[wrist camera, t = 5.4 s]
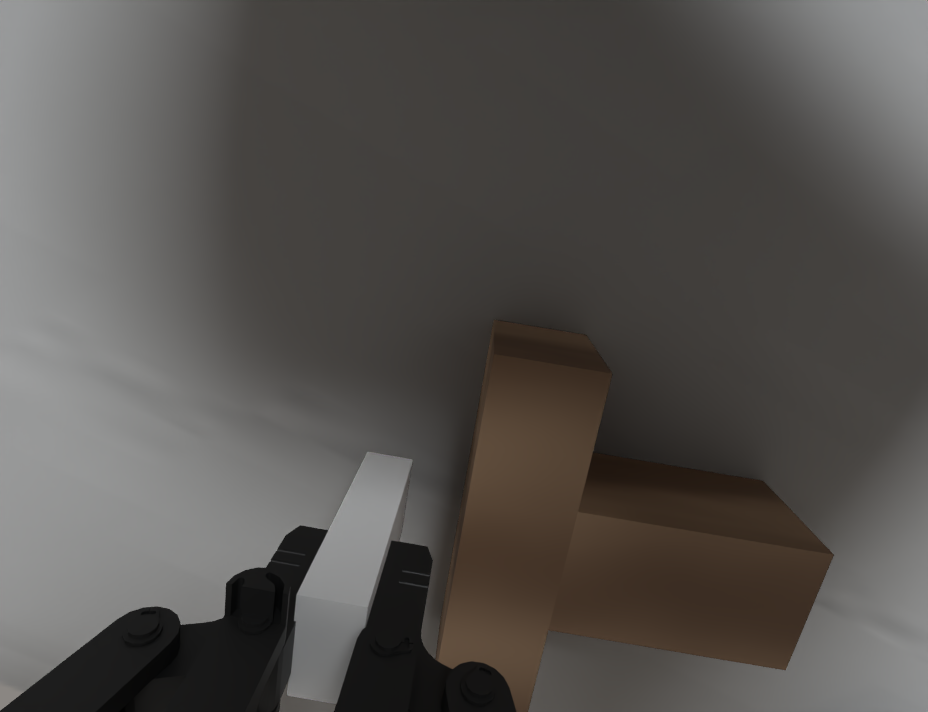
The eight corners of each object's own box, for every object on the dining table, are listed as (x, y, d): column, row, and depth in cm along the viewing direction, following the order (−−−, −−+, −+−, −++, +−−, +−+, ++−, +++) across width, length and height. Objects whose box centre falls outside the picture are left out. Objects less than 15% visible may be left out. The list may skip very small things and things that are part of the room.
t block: (493, 319, 17) (494, 353, 13) (802, 370, 17) (890, 419, 13) (440, 620, 21) (428, 716, 17) (697, 663, 21) (744, 770, 17)
